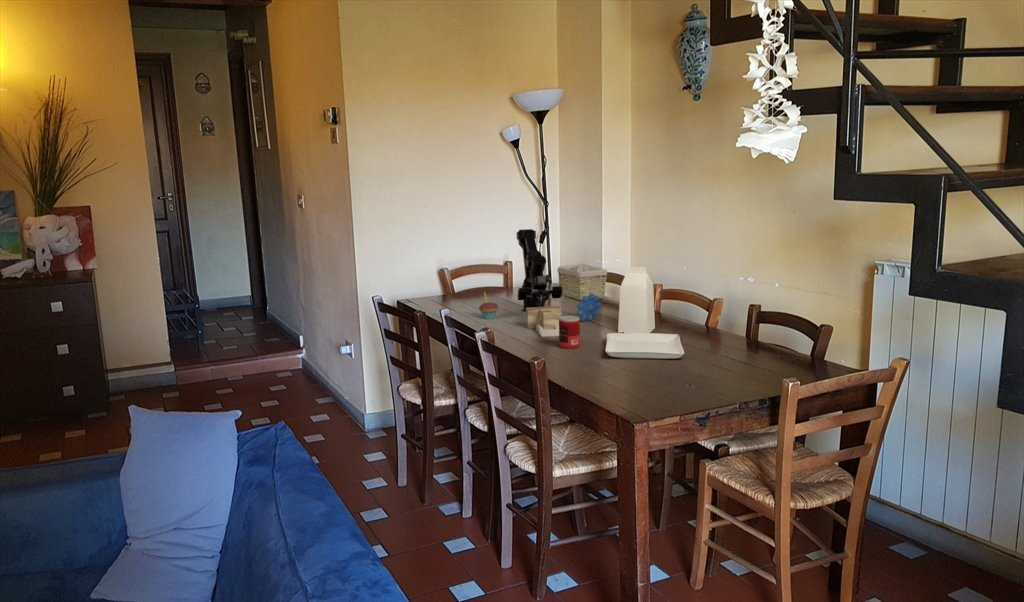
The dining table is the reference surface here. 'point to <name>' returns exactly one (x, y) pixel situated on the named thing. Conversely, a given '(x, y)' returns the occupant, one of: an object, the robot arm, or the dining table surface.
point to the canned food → (569, 332)
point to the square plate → (644, 345)
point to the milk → (636, 302)
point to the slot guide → (548, 332)
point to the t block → (543, 317)
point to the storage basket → (582, 281)
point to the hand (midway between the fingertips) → (542, 309)
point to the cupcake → (488, 309)
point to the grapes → (588, 307)
